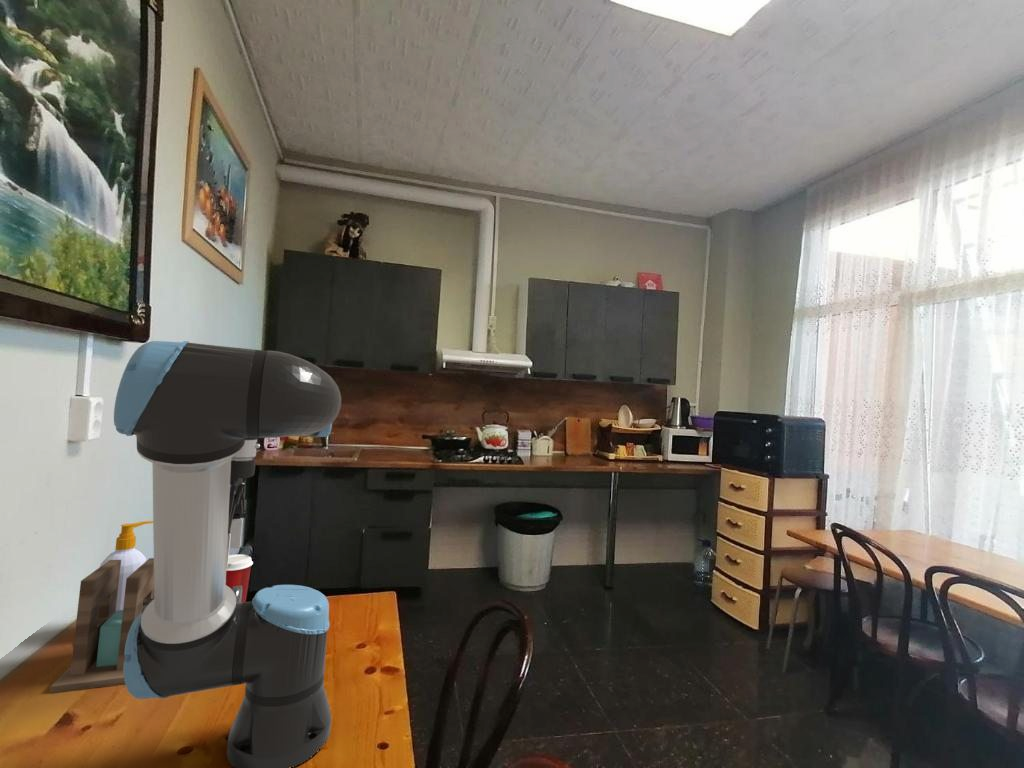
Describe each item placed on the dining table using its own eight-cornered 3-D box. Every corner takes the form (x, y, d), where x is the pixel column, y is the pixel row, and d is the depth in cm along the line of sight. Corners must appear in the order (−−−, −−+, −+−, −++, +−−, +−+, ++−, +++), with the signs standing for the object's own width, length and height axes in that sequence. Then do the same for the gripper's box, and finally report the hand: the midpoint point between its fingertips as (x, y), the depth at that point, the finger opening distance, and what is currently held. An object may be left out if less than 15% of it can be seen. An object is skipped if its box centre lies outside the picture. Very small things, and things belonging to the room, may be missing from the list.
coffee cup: (236, 611, 118) (241, 551, 119) (254, 620, 114) (260, 558, 115) (200, 623, 111) (207, 559, 112) (219, 633, 107) (225, 567, 108)
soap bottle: (152, 626, 108) (162, 523, 109) (102, 643, 100) (114, 531, 101) (132, 617, 112) (143, 517, 113) (83, 632, 104) (95, 524, 105)
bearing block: (163, 679, 89) (173, 581, 90) (49, 693, 83) (61, 587, 84) (190, 634, 106) (198, 552, 107) (97, 643, 100) (107, 556, 101)
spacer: (119, 664, 91) (123, 625, 91) (96, 666, 90) (100, 627, 90) (134, 645, 98) (138, 608, 98) (113, 647, 96) (117, 610, 97)
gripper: (245, 465, 92) (235, 575, 90) (263, 453, 115) (255, 540, 114) (201, 465, 89) (189, 578, 88) (228, 452, 112) (220, 541, 111)
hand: (226, 557), depth 101 cm, fingers open, 13 cm apart
